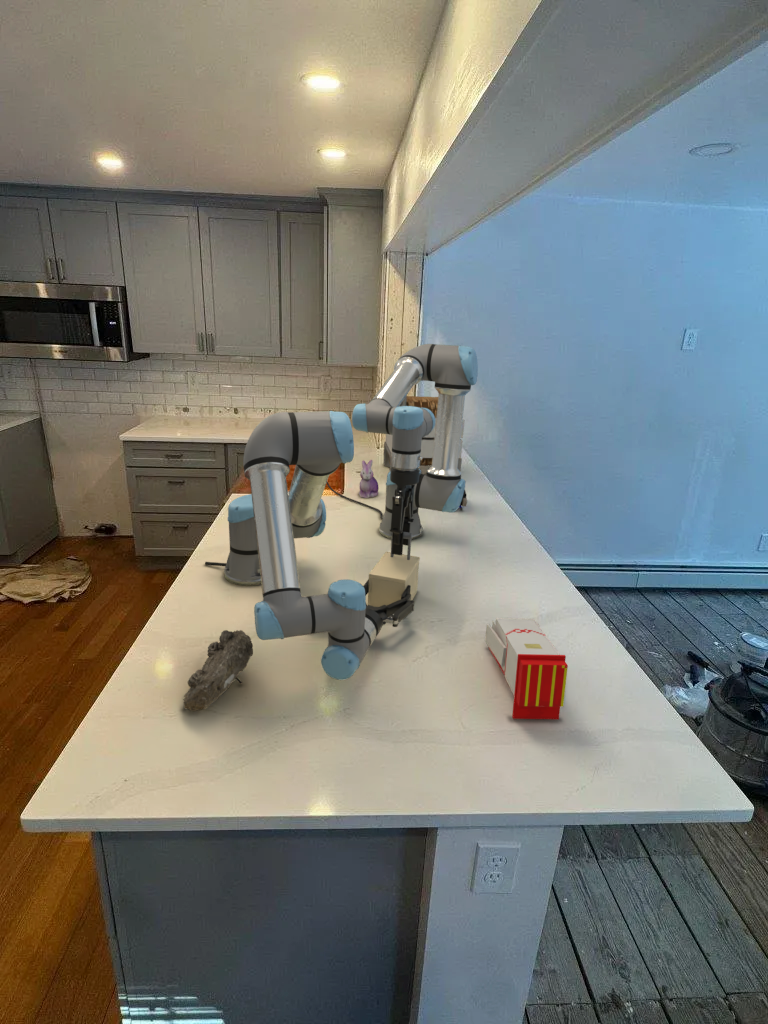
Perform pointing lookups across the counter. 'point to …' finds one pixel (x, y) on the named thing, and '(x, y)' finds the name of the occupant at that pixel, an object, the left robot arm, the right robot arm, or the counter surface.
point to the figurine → (368, 481)
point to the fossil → (219, 669)
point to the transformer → (427, 441)
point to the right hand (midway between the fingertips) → (400, 549)
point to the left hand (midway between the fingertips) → (389, 586)
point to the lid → (395, 564)
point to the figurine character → (463, 501)
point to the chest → (390, 589)
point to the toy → (529, 667)
